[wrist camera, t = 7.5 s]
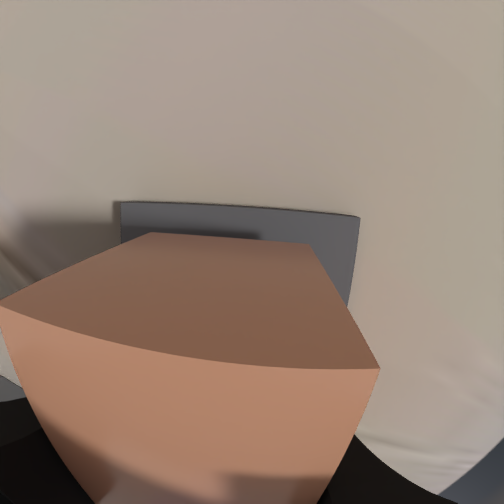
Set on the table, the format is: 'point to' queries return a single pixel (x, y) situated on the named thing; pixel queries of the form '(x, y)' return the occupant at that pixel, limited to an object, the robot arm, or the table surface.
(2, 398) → the grey rectangular block
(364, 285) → the table surface
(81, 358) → the salmon rectangular prism
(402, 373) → the table surface
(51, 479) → the robot arm
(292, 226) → the charcoal mat
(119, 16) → the table surface
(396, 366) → the table surface
